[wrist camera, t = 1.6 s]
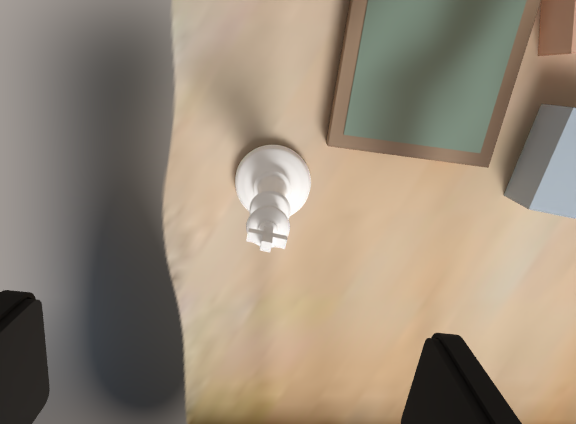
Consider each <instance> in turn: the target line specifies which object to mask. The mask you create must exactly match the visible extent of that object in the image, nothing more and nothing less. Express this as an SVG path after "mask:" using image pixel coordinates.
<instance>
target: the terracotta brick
mask: <svg viewBox="0 0 576 424" xmlns="http://www.w3.org/2000/svg"><path fill="white" fill-rule="evenodd" d="M570 53H576V0H541V11H540V29H539V47H538V56H543V55H557V54H570Z"/></svg>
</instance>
